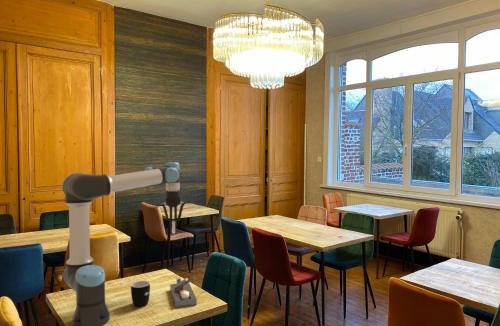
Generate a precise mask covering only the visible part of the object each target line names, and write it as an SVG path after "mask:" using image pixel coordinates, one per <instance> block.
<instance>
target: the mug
mask: <svg viewBox="0 0 500 326" xmlns="http://www.w3.org/2000/svg"><path fill="white" fill-rule="evenodd" d="M150 293H151V282H150V281H148V280H139V281H135V282H132V283H131V284H130V295H131V301H132V304H133V306H134V307H136V308H142V307H145V306H148V303H149V301H150Z"/></svg>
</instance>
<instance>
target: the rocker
mask: <svg viewBox="0 0 500 326" xmlns="http://www.w3.org/2000/svg"><path fill="white" fill-rule="evenodd" d="M187 283H189V284H190V279H189V278H188V277H186V278H184V279H183V280H182V279H181V282H179V283H174V284H175V285H174V288H175V290H177V289H178V288H180V287H182V286H184V285H185V284H187Z"/></svg>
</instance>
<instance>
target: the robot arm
mask: <svg viewBox="0 0 500 326" xmlns="http://www.w3.org/2000/svg"><path fill="white" fill-rule="evenodd" d="M180 169H181V168H180V163H179V162H174V161H173V162H169V161H168V162H166V163H165V165H163V166H147V167H145V169H144V170H143V171H142V170H141V171H134V172H129V173H121V174H112V175H108V174H107V173H106V174H105V173H104V174H90V173H89V174H88V173H82V172H76V173H75V172H74V173H71V174H69V175H67V176H66V177H65V178H64V179H63V181H62V185H61V189H62V192H63V194H64V196H65V197H64V200H65V201H64V203H65V205H67V206H68V229H69V234H68V235H69V237H68V238H69V258H68V259H67V260H66V262H65V269H64V270H63V280H64V282H65V284H66V286H67V287H68V288H70V289H72V290H73V291H74V292H75V294H76V295H75V300H76V306H75V310H74V314H73V315H72V316H73V317H72V322H71V323H72V326H103V325H105V324H107V323H108V322H109V321H110V319H111V315H110V314H111V313H110V311H109V308H108V306H107V302H106V273H105V270H104V268H103V267H102V266H100V265H95V264H94V258H93V257H92V256H91V242H90V241H91V240H90V239H91V237H90V236H91V234H90V226H91V225H90V205H91V204H92V203H93V201H94V199H97V198H102V197H106V196H110V195H111V193H117V192H122V191H126V190H127V191H128V190H133V189H138V188H144V187H148V186H153V185H159V184H160V185H161V184H165V199H164V202H162V203H161V205H160V206H161V207H162V208H163V212H164V216H165V219H166V221H168V222H169V227H170V228H171V233H172V234H176V228H177V227H178V221H180V220H181V218H182V213H183V210H184V206H185V204H186V203H185V202H184V201H182V200H181V191H180V189H181V184H180V183H181V181H180V180H181V179H180V177H181V176H180V175H181V174H180V172H181V170H180ZM179 205H180V206H179ZM166 206H167V207H168V208H169V214H168V211H167V210H168V209H167V207H166ZM178 206H179V211H178ZM173 215H174V216H173Z"/></svg>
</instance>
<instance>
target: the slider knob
mask: <svg viewBox="0 0 500 326" xmlns="http://www.w3.org/2000/svg"><path fill="white" fill-rule="evenodd" d="M175 279H176V281H175V284H177V283H179V282H181V281H182V279H181V277H180V276H178V277H177V276H176V277H175Z"/></svg>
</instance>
